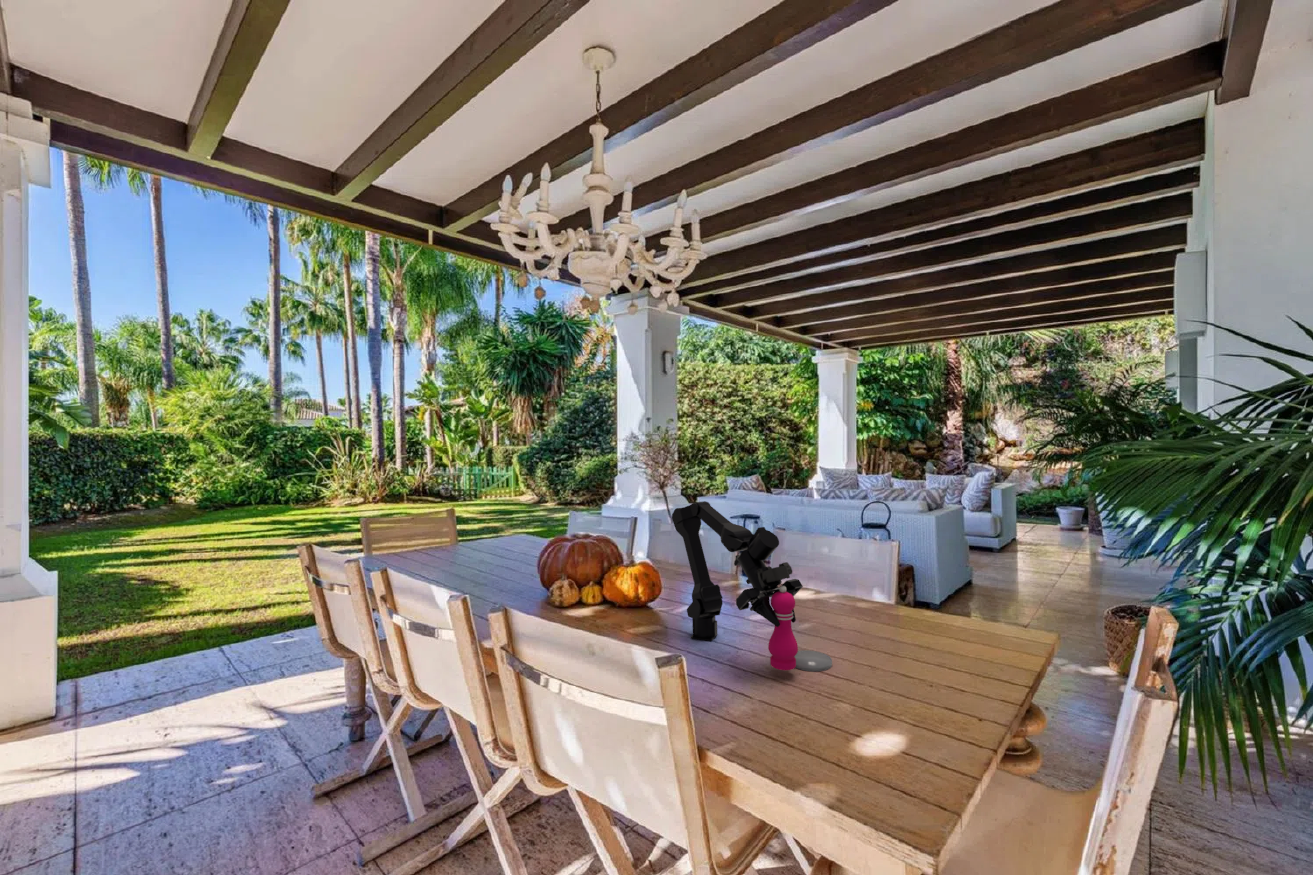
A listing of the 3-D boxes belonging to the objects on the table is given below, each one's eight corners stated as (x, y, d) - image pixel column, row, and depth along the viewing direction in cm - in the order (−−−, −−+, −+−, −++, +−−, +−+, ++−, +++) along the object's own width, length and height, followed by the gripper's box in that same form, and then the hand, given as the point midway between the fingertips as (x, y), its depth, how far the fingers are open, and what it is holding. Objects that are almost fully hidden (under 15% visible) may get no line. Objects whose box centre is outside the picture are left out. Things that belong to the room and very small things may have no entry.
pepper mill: (800, 662, 147) (800, 583, 146) (794, 673, 140) (794, 591, 140) (772, 657, 150) (772, 580, 149) (765, 668, 143) (764, 587, 143)
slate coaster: (785, 667, 149) (785, 663, 149) (792, 652, 160) (792, 648, 160) (829, 674, 145) (829, 669, 145) (834, 657, 155) (834, 653, 155)
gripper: (742, 557, 143) (774, 614, 134) (797, 548, 153) (830, 600, 144) (723, 582, 150) (752, 637, 141) (776, 571, 160) (806, 622, 151)
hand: (786, 623), depth 144 cm, fingers closed on pepper mill, 5 cm apart
